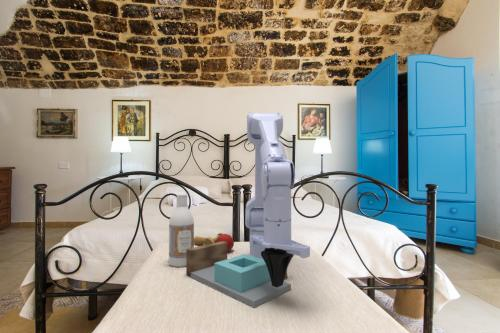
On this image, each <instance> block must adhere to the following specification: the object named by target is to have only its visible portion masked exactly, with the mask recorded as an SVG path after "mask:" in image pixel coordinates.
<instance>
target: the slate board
mask: <svg viewBox="0 0 500 333" xmlns="http://www.w3.org/2000/svg"><path fill="white" fill-rule="evenodd" d="M185 271H186V270H185ZM185 273H186V274H187V273H188V272H187V271H186V272H185ZM189 273H190V272H189ZM189 273H188V276H187V277H189V276H190V275H191V277H190V278H191V279H194V280H195V281H197V282H199V283H202V284H203V285H206V286H208V287H210V288H212V289H214V290H216V291H219V292H221V293H223V294H225V295H227V296H228V297H230V298H233V299H235V300H237V301H238V302H241V303H243V304H244V305H247V306H249V307H251V308H257V307H258V306H260V305H263V304H264V303H267V302H268V301H271V300H272V299H274V298H277V297H278V296H280V295H283V294H285V293H287V292H289V291H291V290H292V283H289V282H286V281H284V282H283V285H282V286H279V287H274V286H272V283H271V280H269V281H267V282H264V283H262V284H260V285H257V286H255V287H253V288H250V289H248V290H245V291H243V292H239V291H237V290H235V289H232V288H230V287H228V286H226V285H224V284H221V283H219V282H217V281H215V280H214V266H211V267H208V268H204V269H201V270H198V271H194V272H191V273H190V274H189ZM186 274H185V275H186Z"/></svg>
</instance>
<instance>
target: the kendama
mask: <svg viewBox="0 0 500 333" xmlns="http://www.w3.org/2000/svg"><path fill="white" fill-rule="evenodd" d="M221 241H224V242H227V253H230V251H232V249H233V248H234V246H235V242H234V237H232V235H230V234H228V233H223V232H219V233H218V234H217V235H216V237H215V238H213V237H210V236H208V237H202V236H194V246H195V245H198V246H202V245H208V244H212V243H217V242H221Z"/></svg>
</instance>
